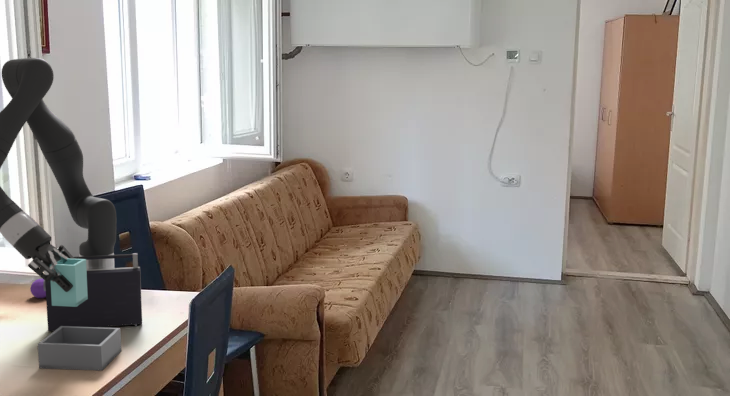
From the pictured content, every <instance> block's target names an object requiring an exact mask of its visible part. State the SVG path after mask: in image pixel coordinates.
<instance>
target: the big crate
mask: <svg viewBox="0 0 730 396" xmlns="http://www.w3.org/2000/svg"><path fill="white" fill-rule="evenodd" d="M121 333H122V332H121V328H120V327H73V326H60V327H59V328H58V329H56V330H55V331H54V330H53V331H52V332H51V333H49V335H47V336H46V337H45V338H43V339H42V340H40V341H39V342H38V343H37V353H38V369H51V370H53V369H55V370H77V371H78V370H79V371H80V370H81V371H103V370H104V369H105V368H106V367H107V366H109V364H110V363H111V362H112V361H113V360H114V359H115V358H116V357H117V356H118V355H119V354H120V353H121V352H122V344H121V343H122V341H121V340H122V339H121V338H122V335H121Z"/></svg>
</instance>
